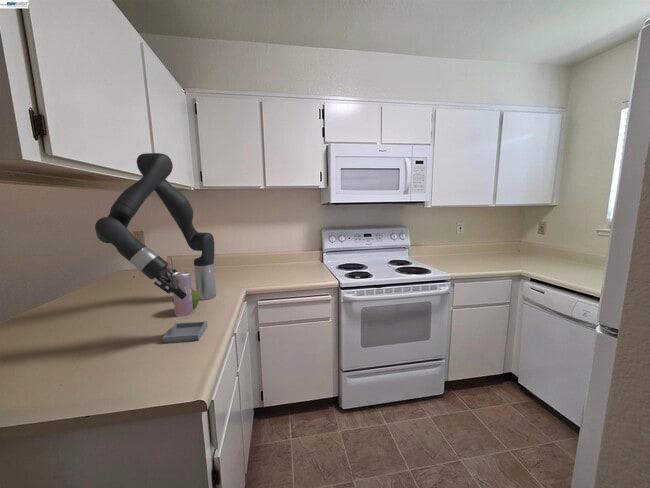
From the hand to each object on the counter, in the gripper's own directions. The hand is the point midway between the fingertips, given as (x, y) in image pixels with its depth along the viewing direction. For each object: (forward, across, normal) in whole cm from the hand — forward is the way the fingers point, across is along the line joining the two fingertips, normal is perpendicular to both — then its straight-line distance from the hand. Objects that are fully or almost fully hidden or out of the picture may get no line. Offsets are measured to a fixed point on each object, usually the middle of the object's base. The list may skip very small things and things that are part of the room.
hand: (187, 294), depth 101 cm
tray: (+10, 0, +12) cm, 15 cm away
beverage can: (+4, 0, +6) cm, 8 cm away
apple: (+5, +23, +17) cm, 29 cm away
